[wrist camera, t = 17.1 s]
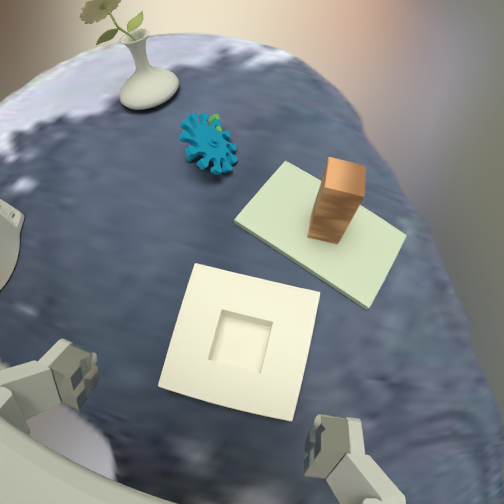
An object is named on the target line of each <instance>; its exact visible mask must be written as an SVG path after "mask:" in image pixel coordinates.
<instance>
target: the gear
mask: <svg viewBox="0 0 504 504" xmlns="http://www.w3.org/2000/svg"><path fill="white" fill-rule="evenodd" d="M187 118H188V119H185V120H184V121H183V122H182V123H181V124H180V126H181V128H183V129H185V130H186V131H183V132H182V133H181V134H180V141H182V142H188V143H190V144H192V145H193V146H192V145H190V146H189V147H187V148H186V149H185V151H186V154H187V157H186V159H187V161H189V162H191V161H192V160H194V159H195V158H196V157H197V156H199V155H202V156H203V157H204V158H202V159H200V160H199V161H198V162H197V165H198V166H199V167H200V168H201V169H202V170H203V169H205V168H206V167H207V166H208V163H209V160H211V161H212V162H213V163H214V166H213V167H212V168H211V173H213V174H215V175H218V174H220V173H221V172H222V171H223V172H224V173H227V172H230V171H231V170H233V168H232V166H231V165H233V164H234V163H236V162H237V160H238V159H237V157H236V156H235V155H233V154H232V153H233V152H235V151H236V149H237V148H236V145H235V144H234V143H230V142H228V141H226V140H227V139H229V138H230V137H231V135H230V132H229V131H228V130H225V131H224V132H221V131H222V129H221V127H220V126H221V123H220V122H219V121H218V120H219V116H218V115H217V114H214V115H213V116H212V117H210V118H209V115H207V114H206V113H202V114H201V115H200V116H199V119H200V124H199V123H198V122H197V119H198V115H197V114H196V113H190V114H189V115H188V116H187ZM208 119H209V122H210V123H208V124H207V123H206V121H207V120H208ZM191 124H192V126H193V128H192V126H191ZM220 161H221V162H222V169H221V166H220Z"/></svg>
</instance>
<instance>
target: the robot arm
mask: <svg viewBox="0 0 504 504" xmlns="http://www.w3.org/2000/svg"><path fill="white" fill-rule="evenodd" d="M23 222H24V215H23V214H22V213H21V212H20V211H18V210H16V209H15V208H13V207H12V206H10V205H9V204H7V203H6V202H4V201H3V200H1V199H0V290H1V289H2V288H3V286H4V285H5V284H6V282H7V281H8V279H9V278H10V276H11V274H12V272H13V270H14V267H15V264H16V261H17V258H18V253H19V246H20V231H21V228H22V225H23ZM96 362H97V356H96V354H95V353H94V352H92V351H89V350H87V349H85V348H83V347H81V346H78V345H76V344H74V343H72V342H69V341H67V340H65V339H60V340H59V341H58V342H57V343H56V344H55V345H54V346H53V347H52V348H51V349H50V350H49V351H48V352H47V353H46V354H45V355H44V356H43V357H42V358H41V359H40V360H39V361H38V362H37V361H31V362H28V363H24V364H21V365H17V366H14V367H10V368H7V369H3V370H0V504H177V503H173V502H170V501H167V500H164V499H161V498H158V497H155V496H152V495H149V494H147V493H144V492H141V491H138V490H136V489H133V488H131V487H128V486H126V485H123V484H121V483H118V482H116V481H114V480H111V479H109V478H107V477H104V476H102V475H100V474H98V473H96V472H93V471H91V470H89V469H87V468H85V467H83V466H81V465H79V464H77V463H75V462H73V461H71V460H70V459H68V458H66V457H64V456H62V455H60V454H58V453H57V452H55V451H53V450H51V449H50V448H48V447H46V446H45V445H43V444H41V443H40V442H38V441H36V440H35V439H33V438H31V437H30V436H29V434H30V429H29V428H28V425H27V423H26V421H25V420H26V419H29V418H31V417H33V416H35V415H37V414H39V413H41V412H43V411H45V410H47V409H49V408H51V407H53V406H56V405H58V404H60V403H61V402H63V403H65V404H67V405H69V406H71V407H73V408H76V409H78V410H80V408H81V407H82V406H83V404H84V403H85V401H86V400H87V393H89V392H92V391H93V390H94V389H95V387H96V386H97V383H98V380H99V369H98V367H97V366H96V364H95V363H96ZM305 452H306V453H307V457H306V459H305V460H304V474H303V476H310V477H317V478H326V481H327V482H328V484H329V486H330V488H331V489H332V491H333V493H334V494H335V496H336V498H337V499H338V501H339V503H340V504H406V501H405V496H404V495H403V494H402V493H401V492H400V491H399V489H398V488H397V487H396V486H395V485H394V484H393V483H392V481H391V480H390V479H389V478H388V477H387V476H386V474H385V473H384V472H383V471H382V470H381V469H380V467H379V466H378V465H377V464H376V463H375V462H374V460H373V459H372V458H371V457H370V456H369V455H365V449H364V441H363V433H362V425H361V420H360V419H356V418H347V417H346V418H345V417H340V416H332V415H324V414H318V415H317V417H316V419H315V426H313V427H311V428H310V430H309V432H308V434H307V437H306V442H305Z"/></svg>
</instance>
